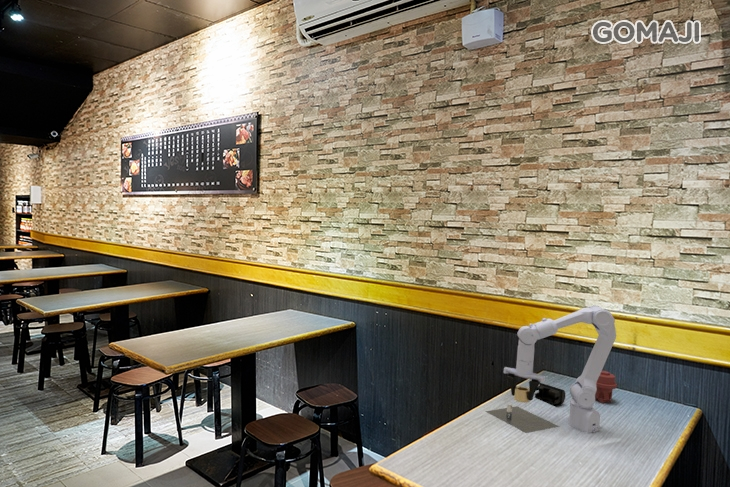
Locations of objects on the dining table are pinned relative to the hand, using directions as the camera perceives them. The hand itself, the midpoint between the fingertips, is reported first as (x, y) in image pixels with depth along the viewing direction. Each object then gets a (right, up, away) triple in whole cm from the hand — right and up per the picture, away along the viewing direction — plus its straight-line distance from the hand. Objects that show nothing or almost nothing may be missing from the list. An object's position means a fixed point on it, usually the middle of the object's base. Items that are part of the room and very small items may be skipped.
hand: (522, 397), depth 174 cm
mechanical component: (+44, -11, +30) cm, 54 cm away
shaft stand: (0, -9, 0) cm, 9 cm away
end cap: (+19, -10, +24) cm, 32 cm away
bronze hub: (0, -1, 0) cm, 1 cm away
